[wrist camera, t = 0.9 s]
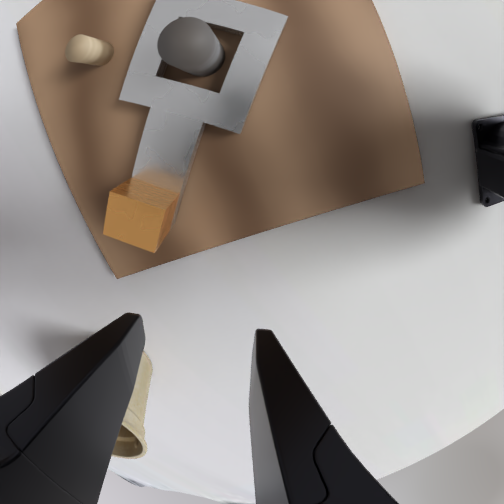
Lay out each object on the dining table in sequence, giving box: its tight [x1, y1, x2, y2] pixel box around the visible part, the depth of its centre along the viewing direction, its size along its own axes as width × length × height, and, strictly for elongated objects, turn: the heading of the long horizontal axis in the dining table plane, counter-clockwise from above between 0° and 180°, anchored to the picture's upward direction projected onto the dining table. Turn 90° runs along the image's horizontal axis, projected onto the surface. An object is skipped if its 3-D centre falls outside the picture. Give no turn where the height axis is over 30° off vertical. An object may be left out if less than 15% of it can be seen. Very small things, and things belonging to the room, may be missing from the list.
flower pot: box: [111, 351, 152, 459], centre depth 22 cm, size 9×9×9 cm
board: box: [16, 0, 425, 279], centre depth 12 cm, size 22×22×5 cm
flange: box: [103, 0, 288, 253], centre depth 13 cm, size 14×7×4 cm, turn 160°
